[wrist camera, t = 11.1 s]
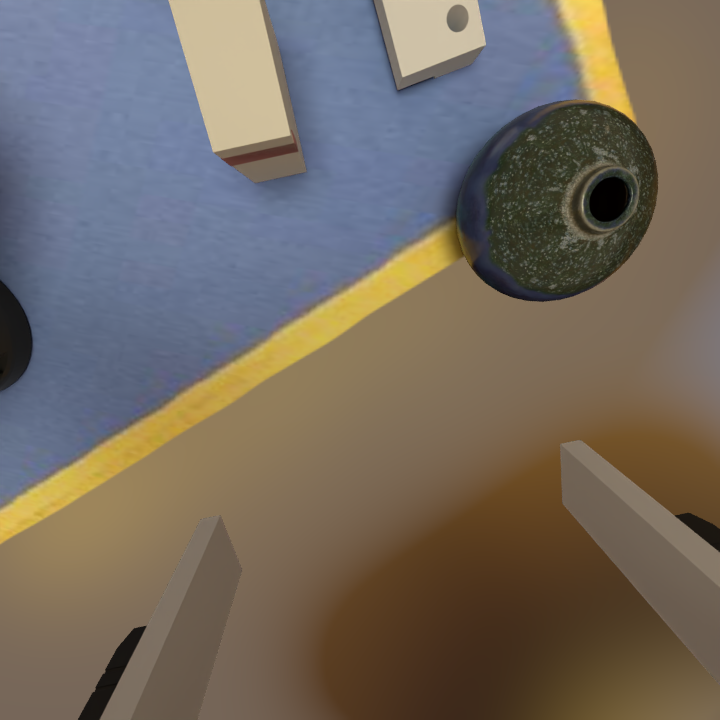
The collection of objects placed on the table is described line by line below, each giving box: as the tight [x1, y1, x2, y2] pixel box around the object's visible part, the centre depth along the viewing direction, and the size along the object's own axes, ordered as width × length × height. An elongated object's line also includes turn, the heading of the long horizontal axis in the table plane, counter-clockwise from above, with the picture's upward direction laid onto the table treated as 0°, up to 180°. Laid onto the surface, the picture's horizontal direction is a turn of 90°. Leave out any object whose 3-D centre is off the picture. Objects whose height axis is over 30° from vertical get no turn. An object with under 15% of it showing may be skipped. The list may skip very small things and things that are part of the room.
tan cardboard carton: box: [169, 0, 307, 183], centre depth 27 cm, size 5×10×12 cm, turn 12°
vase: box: [456, 99, 658, 302], centre depth 30 cm, size 15×15×13 cm
